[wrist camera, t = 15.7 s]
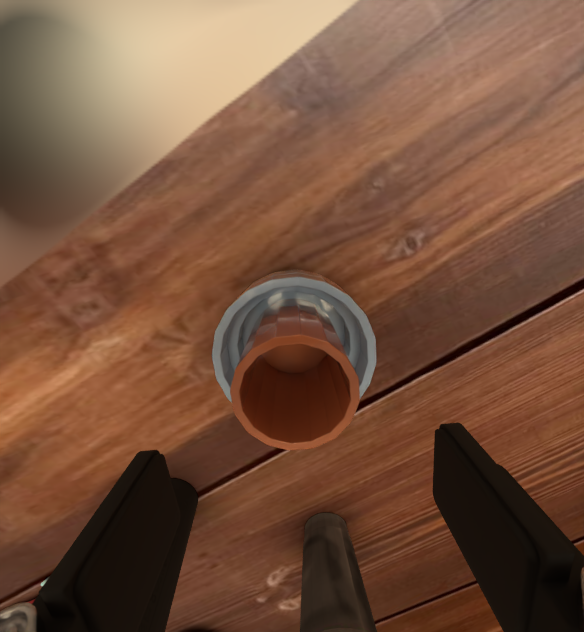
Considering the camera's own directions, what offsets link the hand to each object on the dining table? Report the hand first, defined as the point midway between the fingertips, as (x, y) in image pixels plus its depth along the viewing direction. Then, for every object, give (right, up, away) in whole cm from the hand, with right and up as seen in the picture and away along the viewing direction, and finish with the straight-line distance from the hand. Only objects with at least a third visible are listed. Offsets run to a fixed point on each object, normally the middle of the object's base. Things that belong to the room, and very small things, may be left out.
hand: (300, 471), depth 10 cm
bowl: (0, +4, +14) cm, 15 cm away
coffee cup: (0, +3, +14) cm, 14 cm away
